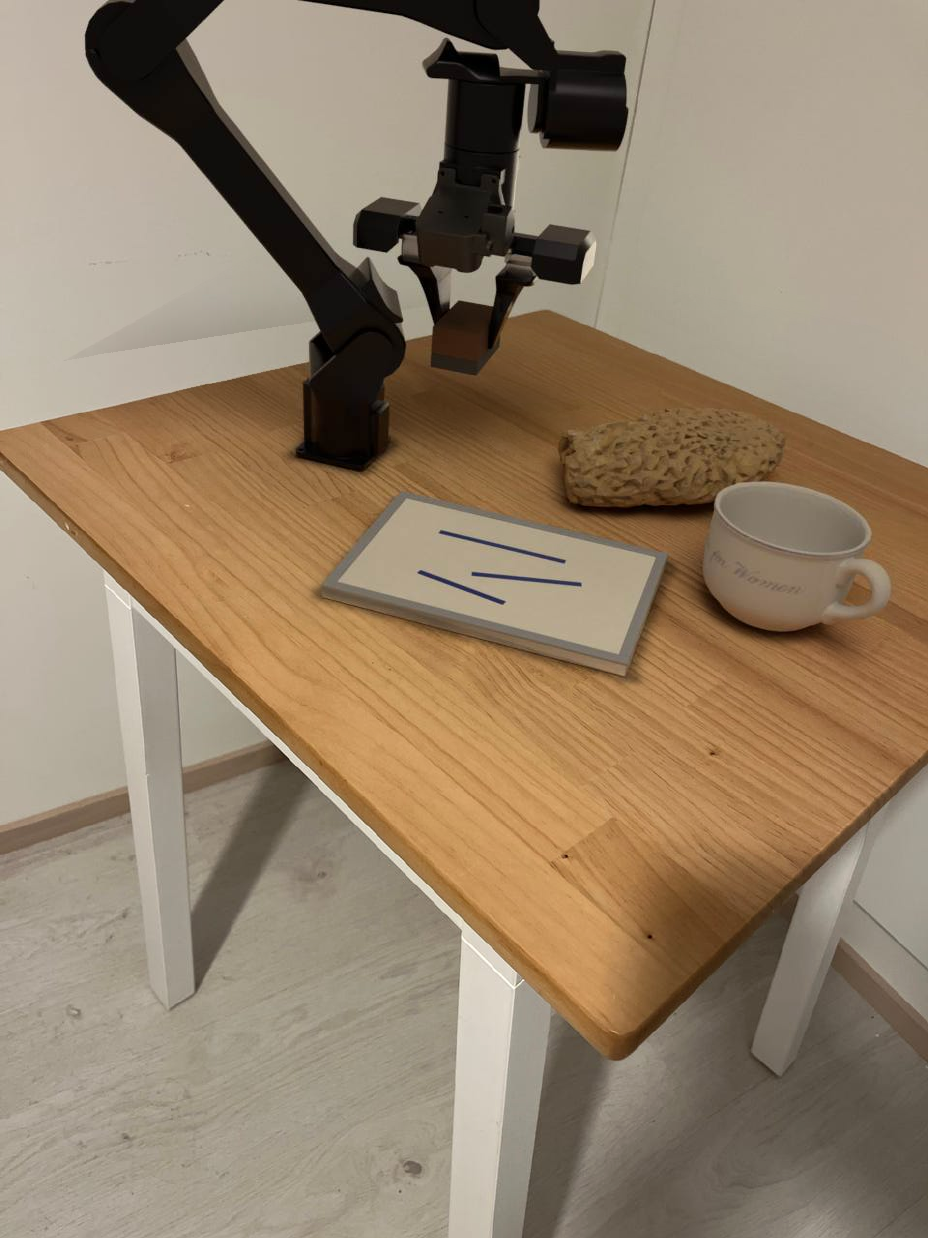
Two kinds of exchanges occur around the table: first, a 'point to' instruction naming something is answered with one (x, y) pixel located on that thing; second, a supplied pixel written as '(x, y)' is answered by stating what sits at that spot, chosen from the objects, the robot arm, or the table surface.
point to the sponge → (668, 457)
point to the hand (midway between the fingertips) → (466, 343)
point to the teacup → (788, 557)
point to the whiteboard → (503, 580)
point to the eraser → (462, 338)
